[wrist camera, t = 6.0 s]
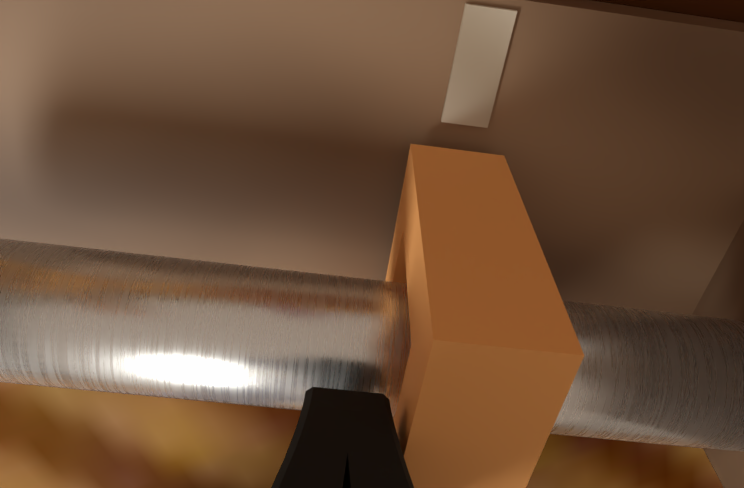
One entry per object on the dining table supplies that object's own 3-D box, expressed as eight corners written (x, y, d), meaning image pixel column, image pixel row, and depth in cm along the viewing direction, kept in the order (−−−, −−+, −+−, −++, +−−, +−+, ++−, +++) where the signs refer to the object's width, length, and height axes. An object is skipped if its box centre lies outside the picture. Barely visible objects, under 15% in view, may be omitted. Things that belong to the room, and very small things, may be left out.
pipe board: (732, 426, 20) (894, 696, 14) (-43, 351, 18) (-259, 621, 12) (983, 57, 13) (1511, 255, 7) (-191, -115, 12) (-835, -52, 5)
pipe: (726, 386, 14) (788, 484, 12) (-80, 303, 13) (-169, 396, 11) (781, 300, 13) (862, 392, 11) (-117, 197, 12) (-228, 280, 10)
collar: (447, 360, 16) (478, 593, 11) (372, 353, 16) (370, 585, 11) (504, 155, 13) (584, 355, 8) (410, 143, 13) (433, 339, 8)
